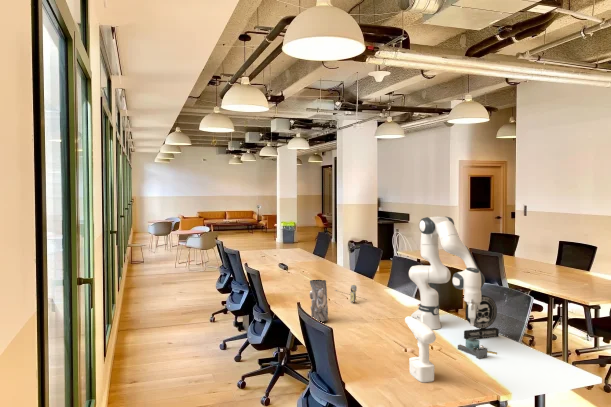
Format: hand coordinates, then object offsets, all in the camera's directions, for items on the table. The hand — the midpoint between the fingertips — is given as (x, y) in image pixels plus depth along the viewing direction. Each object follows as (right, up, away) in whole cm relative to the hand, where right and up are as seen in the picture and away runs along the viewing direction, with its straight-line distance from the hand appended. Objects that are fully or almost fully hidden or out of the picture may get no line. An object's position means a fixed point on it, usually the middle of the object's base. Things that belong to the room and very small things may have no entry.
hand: (472, 323), depth 247 cm
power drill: (-38, -15, -34) cm, 53 cm away
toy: (-55, -12, +106) cm, 120 cm away
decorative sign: (+12, -14, +18) cm, 26 cm away
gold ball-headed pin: (+8, -14, -7) cm, 17 cm away
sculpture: (-82, -14, +54) cm, 100 cm away
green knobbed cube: (0, -14, +1) cm, 14 cm away
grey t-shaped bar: (-4, -14, -7) cm, 16 cm away
